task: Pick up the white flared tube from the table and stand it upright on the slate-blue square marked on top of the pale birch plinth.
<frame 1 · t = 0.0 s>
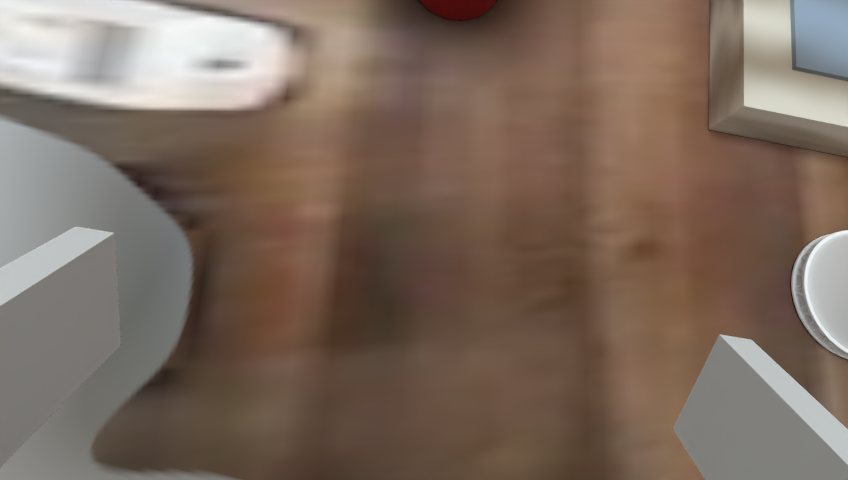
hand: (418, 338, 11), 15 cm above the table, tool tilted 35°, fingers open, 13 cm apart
plinth: (835, 33, 34), on the table
white flared tube: (846, 296, 29), on the table
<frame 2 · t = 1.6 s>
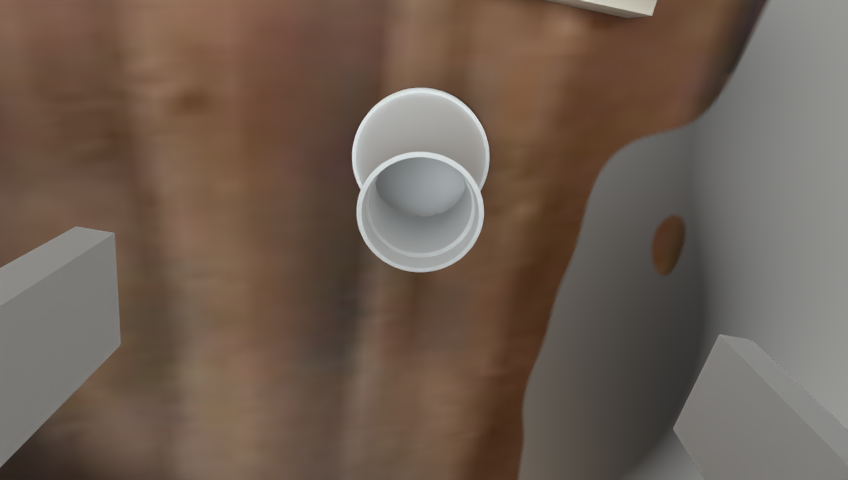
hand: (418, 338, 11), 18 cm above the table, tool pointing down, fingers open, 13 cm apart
white flared tube: (420, 155, 28), on the table
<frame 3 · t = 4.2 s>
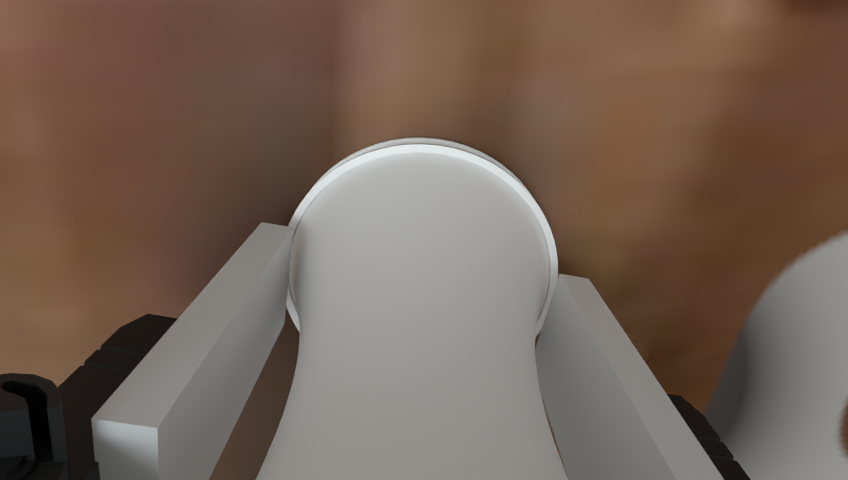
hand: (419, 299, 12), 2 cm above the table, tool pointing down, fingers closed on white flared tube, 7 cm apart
white flared tube: (419, 263, 15), on the table, touching gripper
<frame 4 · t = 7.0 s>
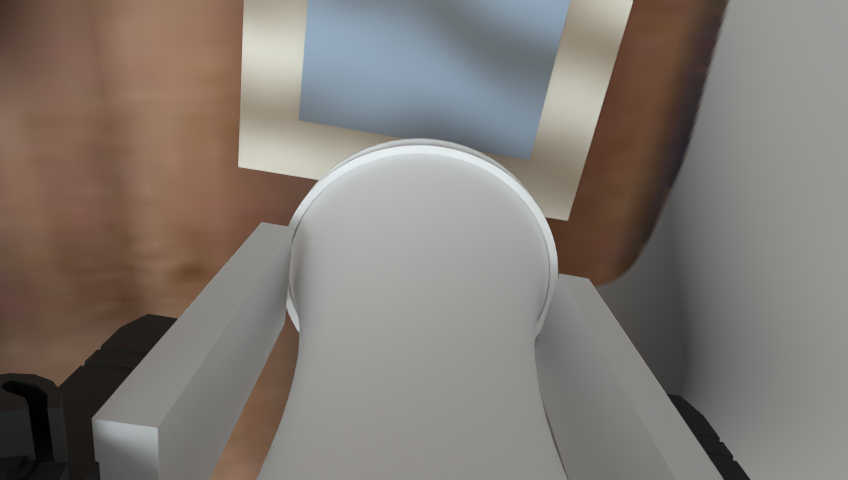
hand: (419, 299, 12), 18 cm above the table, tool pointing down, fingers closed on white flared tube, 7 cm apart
plinth: (435, 17, 26), on the table
white flared tube: (419, 264, 15), point 15 cm above the table, touching gripper
when the fingers open (7 cm above the table, at t = 10.3 s): white flared tube drops 2 cm, resting on plinth.
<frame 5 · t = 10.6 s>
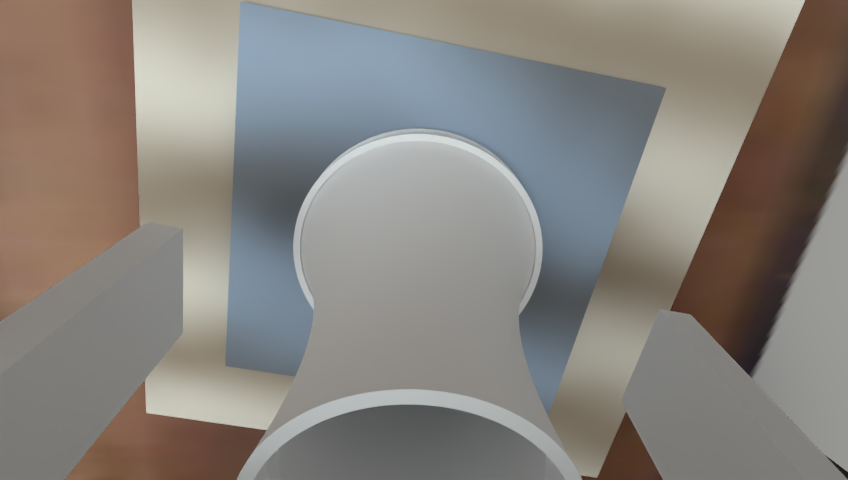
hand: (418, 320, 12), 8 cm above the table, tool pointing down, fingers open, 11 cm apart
plinth: (421, 209, 19), on the table
white flared tube: (418, 243, 16), point 3 cm above the table, touching plinth
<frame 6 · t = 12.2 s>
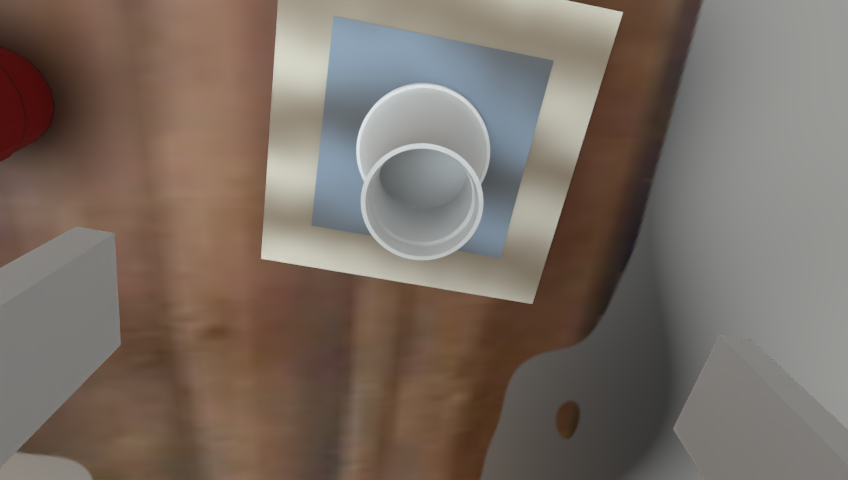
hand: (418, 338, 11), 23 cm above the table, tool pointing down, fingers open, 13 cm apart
plinth: (424, 137, 32), on the table
plastic cup: (10, 91, 31), on the table
white flared tube: (423, 149, 29), point 3 cm above the table, touching plinth
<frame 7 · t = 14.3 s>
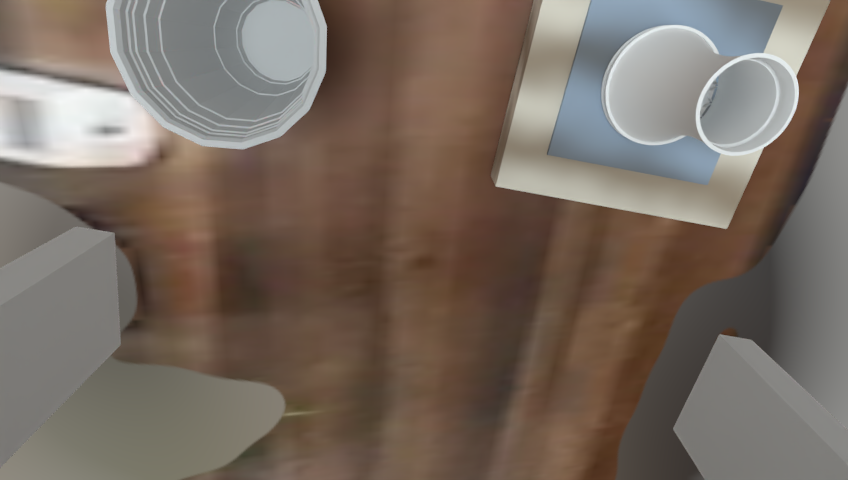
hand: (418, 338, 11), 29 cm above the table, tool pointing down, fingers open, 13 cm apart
plinth: (639, 80, 36), on the table
plastic cup: (281, 38, 35), on the table
white flared tube: (655, 86, 33), point 3 cm above the table, touching plinth
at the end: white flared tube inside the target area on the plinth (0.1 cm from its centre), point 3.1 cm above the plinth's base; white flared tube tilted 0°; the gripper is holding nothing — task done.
